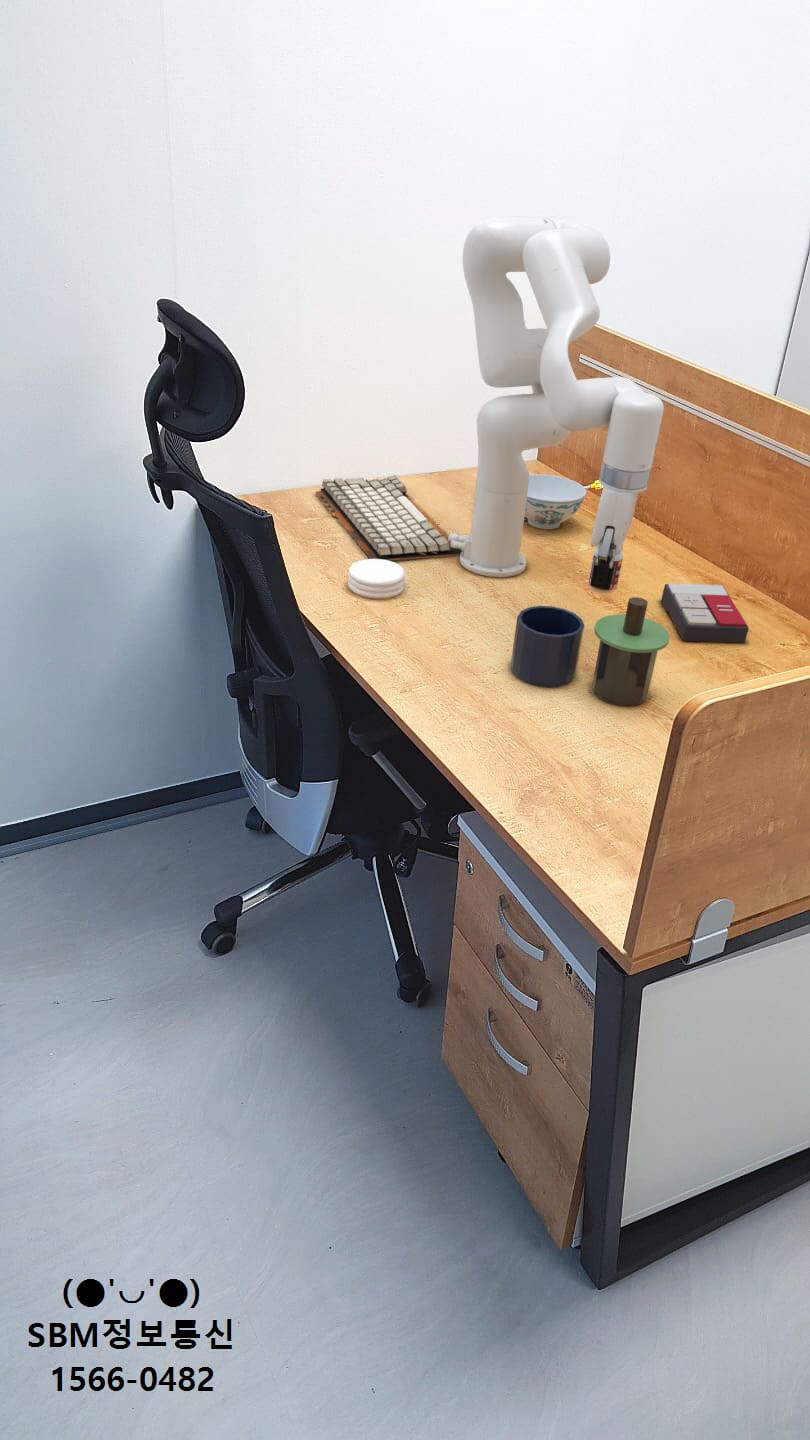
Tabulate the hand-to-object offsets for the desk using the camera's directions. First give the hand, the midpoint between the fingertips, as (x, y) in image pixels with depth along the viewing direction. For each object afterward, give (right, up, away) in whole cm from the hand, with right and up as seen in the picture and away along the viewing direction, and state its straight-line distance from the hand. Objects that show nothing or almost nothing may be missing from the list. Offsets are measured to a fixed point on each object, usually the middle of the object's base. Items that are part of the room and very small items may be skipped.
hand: (603, 579), depth 180 cm
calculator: (+20, -6, +13) cm, 25 cm away
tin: (-11, -15, -6) cm, 19 cm away
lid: (+2, -10, -15) cm, 18 cm away
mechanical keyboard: (-36, +17, +42) cm, 58 cm away
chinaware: (-4, +18, +47) cm, 51 cm away
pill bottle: (0, -1, +1) cm, 2 cm away
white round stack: (-38, 0, +16) cm, 41 cm away
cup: (+1, -19, -9) cm, 21 cm away
